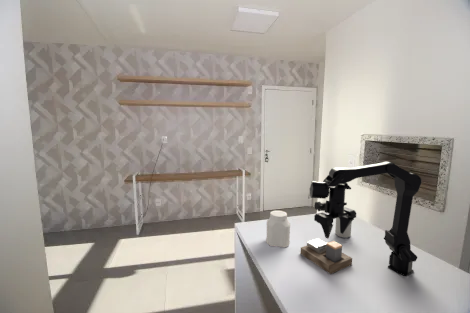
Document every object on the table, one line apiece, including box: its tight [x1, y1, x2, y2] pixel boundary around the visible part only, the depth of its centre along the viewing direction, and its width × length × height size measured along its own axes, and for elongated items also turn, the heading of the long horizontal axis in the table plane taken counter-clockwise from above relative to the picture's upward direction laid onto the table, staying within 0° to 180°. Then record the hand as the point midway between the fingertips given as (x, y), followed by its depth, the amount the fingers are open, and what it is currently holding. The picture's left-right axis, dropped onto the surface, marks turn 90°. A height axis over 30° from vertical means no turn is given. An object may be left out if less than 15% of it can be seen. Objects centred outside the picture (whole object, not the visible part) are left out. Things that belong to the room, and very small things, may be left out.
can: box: [334, 218, 353, 239], centre depth 115 cm, size 8×8×12 cm
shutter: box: [306, 238, 328, 254], centre depth 96 cm, size 7×7×3 cm
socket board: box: [300, 245, 353, 275], centre depth 93 cm, size 16×13×3 cm
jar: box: [265, 210, 291, 248], centre depth 107 cm, size 12×10×15 cm
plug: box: [326, 240, 343, 263], centre depth 89 cm, size 4×4×9 cm
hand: (334, 235), depth 89 cm, fingers open, 9 cm apart
